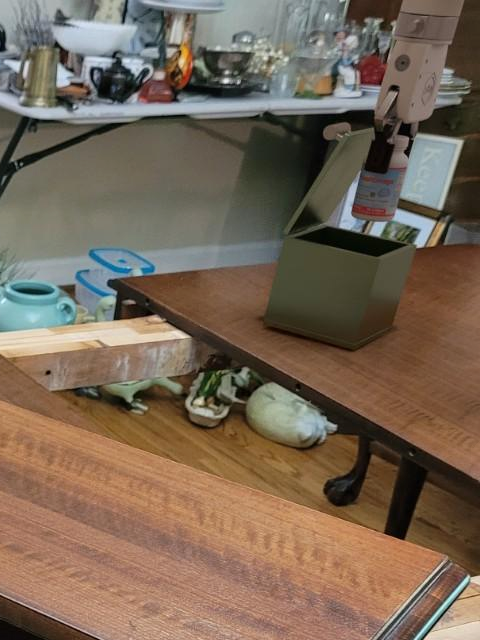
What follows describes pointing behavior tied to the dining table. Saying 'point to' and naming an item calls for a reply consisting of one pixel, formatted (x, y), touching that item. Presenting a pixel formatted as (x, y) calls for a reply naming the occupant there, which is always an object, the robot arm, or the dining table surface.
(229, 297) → the dining table surface
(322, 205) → the bin lid
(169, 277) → the dining table surface
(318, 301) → the waste bin
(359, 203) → the pill bottle
